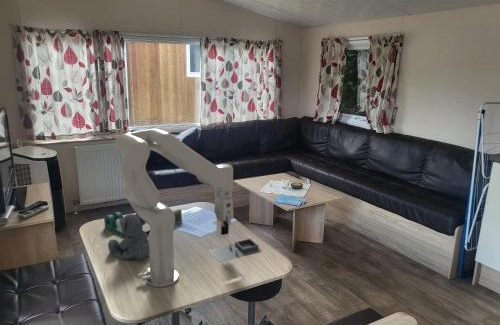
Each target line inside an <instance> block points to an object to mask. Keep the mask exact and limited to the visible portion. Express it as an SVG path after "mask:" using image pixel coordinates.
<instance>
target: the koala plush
mask: <svg viewBox="0 0 500 325" xmlns="http://www.w3.org/2000/svg"><path fill="white" fill-rule="evenodd" d="M146 224H147V223H146V222H145V221H143V220H142V219H141V218H140V217H139V216H138V215H137V213H136V212H135V214H132V213H129V214H126V215H124V216H123V219H122V218H120V219H117V220H116V225H117V229H118V231H119V232H121V233H123V235H124V236H125V237H124V238H123V240H121V241H120V242H119V241H118V240H117V239H110V240H108V243H107V247H108V251H109V252H110V254H111V255H113V256H116V257H118V258H119V259H120V260H125V259H126V260H127V261H128V260H132V259H134V260H137V261H141V260H143V259H146V258H147V257H149V243H148V237H149V235H148V234H146V232H147V231H145V230H143V227H144V225H146Z"/></svg>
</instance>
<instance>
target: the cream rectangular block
mask: <svg viewBox="0 0 500 325" xmlns="http://www.w3.org/2000/svg"><path fill="white" fill-rule="evenodd" d="M225 219H227V218H225ZM225 222H227V221H224V223H225ZM221 228H222V219H220V218H217V217H216V233H215V234H216V236H217V237H218V239H220V240H221V239H225V238H229V232H230V231H229V230H230V229H229V230H228V234H225V235H222V234H221Z"/></svg>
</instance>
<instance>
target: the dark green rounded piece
mask: <svg viewBox="0 0 500 325" xmlns="http://www.w3.org/2000/svg"><path fill="white" fill-rule="evenodd" d="M120 218H122V219H123V218H124V215H123V214H122V212H120V211H116V212H114V213H112V214H107V215H105V216H104V220H103V221H104V229H106V228H107V229H106V230H108V229H109V230H108V231H110V230H111V231H110V232H112V231H113V232H112V233H114V232H115V233H114V234H116V233H117V235H118V236H120V237H123V238H126V237H125V236H124V235H123V233H121V232H119V231H118V229H117V225H116V220H117V219H120Z"/></svg>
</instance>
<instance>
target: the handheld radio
mask: <svg viewBox="0 0 500 325" xmlns="http://www.w3.org/2000/svg"><path fill="white" fill-rule="evenodd" d="M172 211H173V212H174V215H175V224H174V225H176V224H179V223H181V222H183V217H182V215H183V214H182V209H180V208H177V209H176V210H172ZM178 222H179V223H178ZM145 232H146V234H147V235H149V233H150V230H147V231H145Z"/></svg>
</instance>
